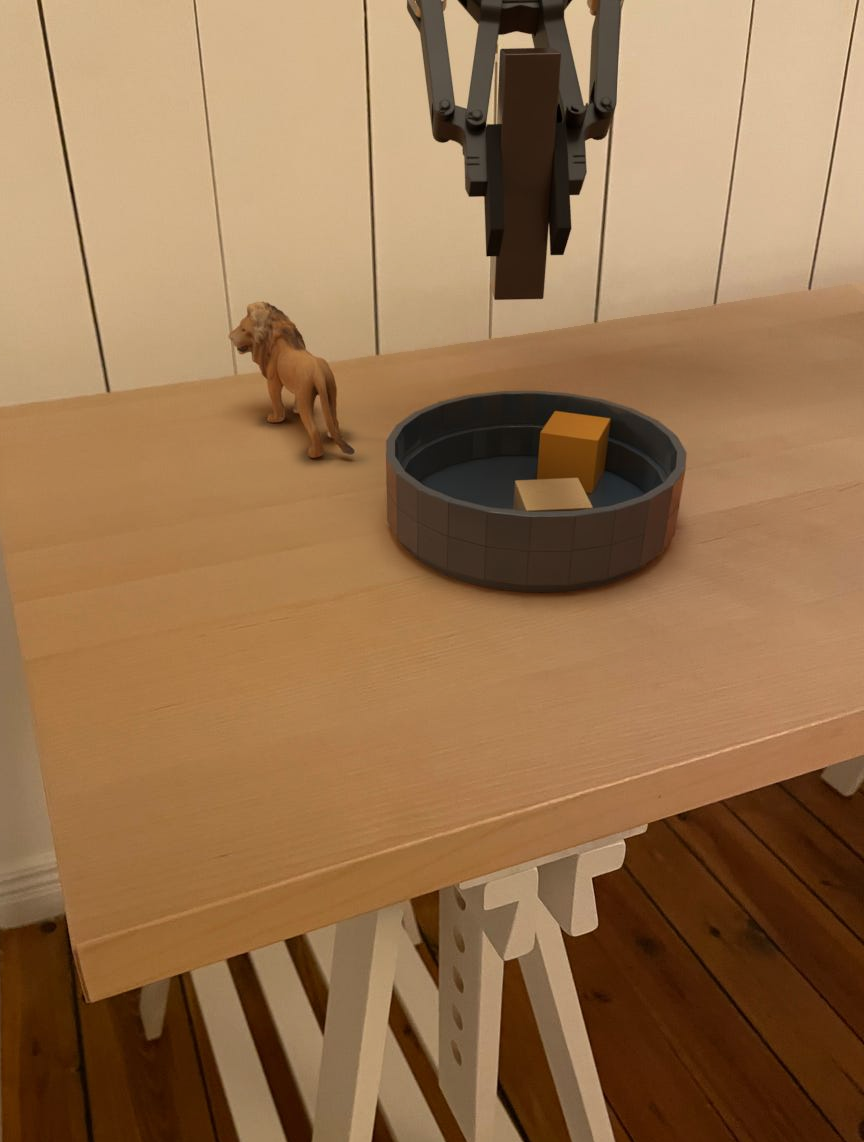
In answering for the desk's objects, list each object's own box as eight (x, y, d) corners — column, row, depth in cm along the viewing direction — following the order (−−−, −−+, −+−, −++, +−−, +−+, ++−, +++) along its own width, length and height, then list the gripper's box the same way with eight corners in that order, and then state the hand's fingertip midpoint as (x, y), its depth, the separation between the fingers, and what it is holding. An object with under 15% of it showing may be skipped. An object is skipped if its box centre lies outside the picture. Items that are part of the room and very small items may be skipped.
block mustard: (604, 470, 73) (610, 418, 71) (592, 494, 70) (598, 440, 68) (550, 462, 74) (554, 410, 72) (536, 485, 71) (540, 432, 69)
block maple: (572, 533, 65) (578, 477, 63) (586, 565, 62) (593, 507, 60) (511, 536, 65) (514, 480, 63) (522, 568, 62) (526, 510, 60)
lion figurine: (230, 410, 85) (218, 303, 80) (283, 395, 88) (275, 290, 83) (326, 469, 76) (319, 352, 70) (383, 451, 78) (381, 336, 73)
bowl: (640, 458, 76) (650, 388, 73) (705, 594, 61) (722, 513, 58) (387, 461, 77) (386, 392, 73) (387, 599, 61) (385, 518, 58)
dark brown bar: (537, 285, 64) (553, 47, 56) (543, 299, 61) (561, 52, 54) (489, 286, 64) (499, 48, 56) (494, 300, 61) (505, 54, 54)
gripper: (631, -64, 65) (653, 275, 61) (380, -58, 65) (386, 280, 61) (662, -177, 57) (689, 200, 53) (379, -171, 57) (385, 206, 53)
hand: (527, 242), depth 57 cm, fingers closed on dark brown bar, 3 cm apart
